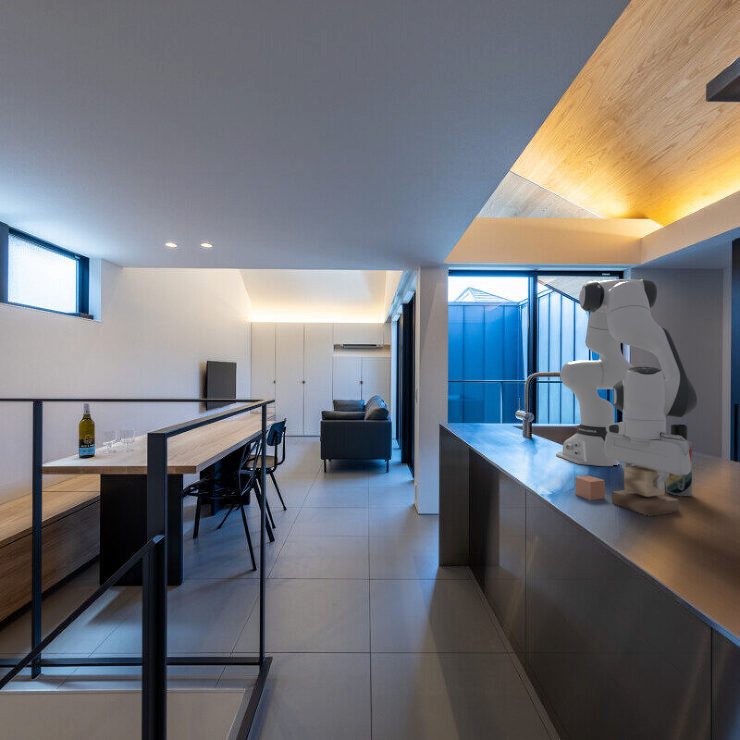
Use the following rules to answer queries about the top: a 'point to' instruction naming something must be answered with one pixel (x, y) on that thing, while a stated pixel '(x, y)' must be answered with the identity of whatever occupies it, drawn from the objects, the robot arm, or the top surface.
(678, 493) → the lotion bottle
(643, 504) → the walnut base
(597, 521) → the top surface
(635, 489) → the oak cube
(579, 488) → the terracotta block
